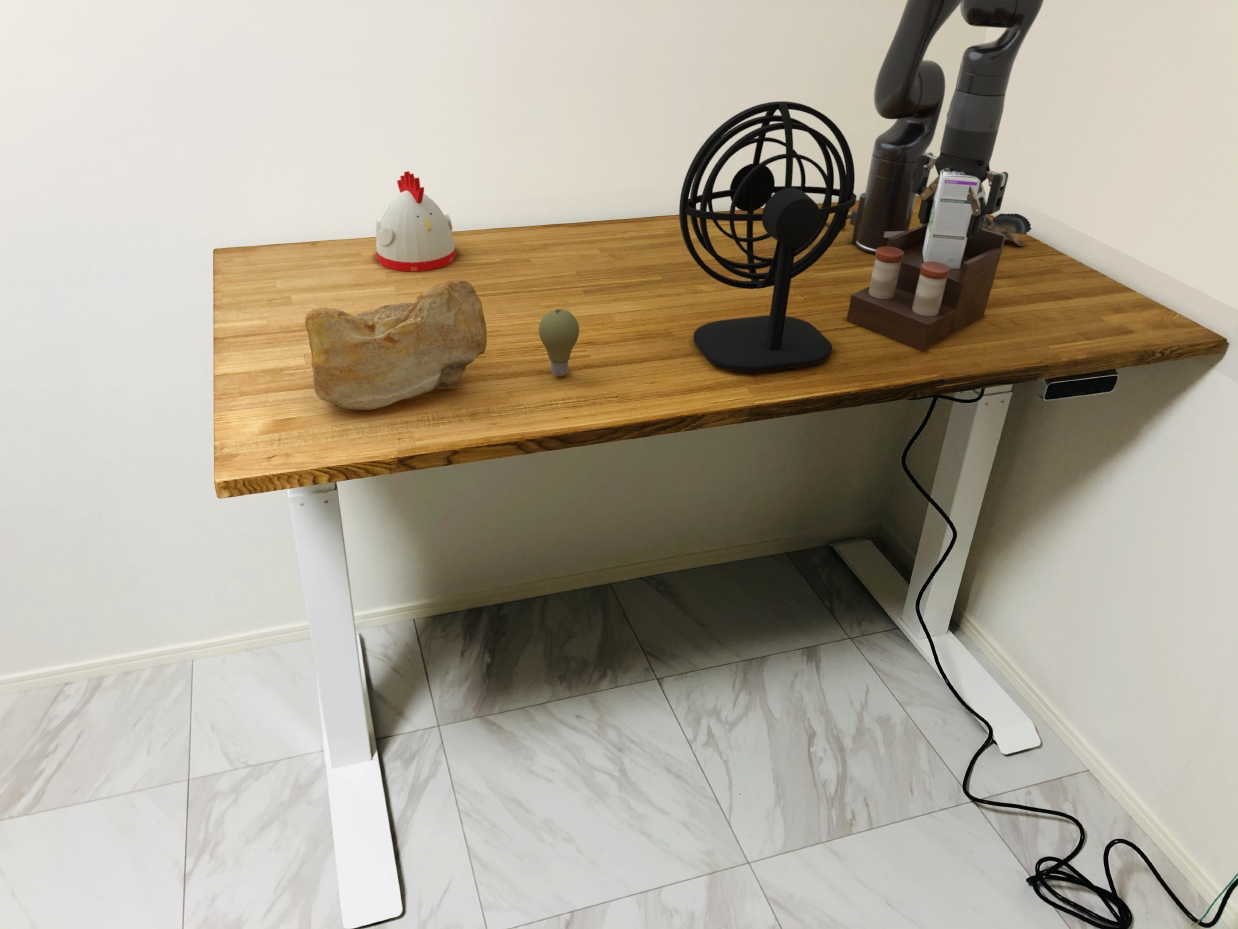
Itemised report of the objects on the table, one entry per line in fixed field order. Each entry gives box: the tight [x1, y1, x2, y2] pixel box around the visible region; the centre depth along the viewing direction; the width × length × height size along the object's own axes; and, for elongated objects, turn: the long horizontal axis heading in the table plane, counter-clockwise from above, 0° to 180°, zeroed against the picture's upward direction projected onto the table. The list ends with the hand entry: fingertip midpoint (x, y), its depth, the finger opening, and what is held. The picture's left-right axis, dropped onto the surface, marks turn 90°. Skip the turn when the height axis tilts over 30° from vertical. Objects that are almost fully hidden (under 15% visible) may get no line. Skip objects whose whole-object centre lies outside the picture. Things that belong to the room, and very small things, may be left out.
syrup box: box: [922, 170, 980, 269], centre depth 145 cm, size 6×6×14 cm
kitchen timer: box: [375, 170, 457, 272], centre depth 163 cm, size 14×14×15 cm
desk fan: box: [678, 100, 857, 373], centre depth 132 cm, size 27×18×35 cm, turn 107°
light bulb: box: [538, 308, 580, 378], centre depth 130 cm, size 6×6×10 cm
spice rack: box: [846, 223, 1007, 351], centre depth 148 cm, size 19×14×14 cm
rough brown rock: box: [304, 279, 488, 411], centre depth 126 cm, size 23×17×15 cm
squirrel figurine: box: [982, 213, 1032, 247], centre depth 180 cm, size 8×7×9 cm
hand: (947, 229), depth 146 cm, fingers closed on syrup box, 7 cm apart
